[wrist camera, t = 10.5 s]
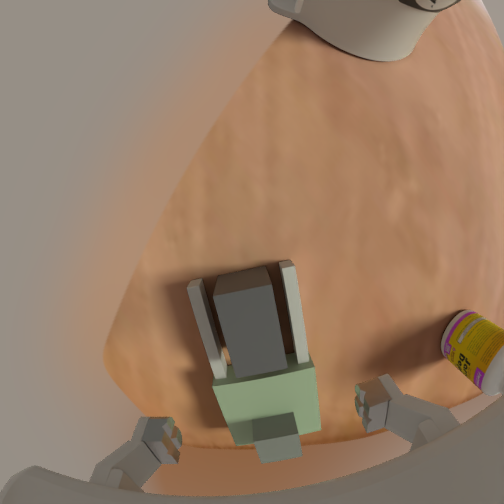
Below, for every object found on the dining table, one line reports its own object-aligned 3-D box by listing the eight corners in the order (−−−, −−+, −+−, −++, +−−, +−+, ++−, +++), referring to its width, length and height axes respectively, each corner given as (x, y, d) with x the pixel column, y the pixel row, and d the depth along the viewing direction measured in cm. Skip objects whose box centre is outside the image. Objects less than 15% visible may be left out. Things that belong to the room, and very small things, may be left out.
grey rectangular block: (279, 337, 25) (287, 368, 20) (236, 346, 25) (236, 378, 20) (265, 265, 23) (271, 284, 18) (218, 275, 23) (212, 296, 18)
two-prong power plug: (188, 280, 23) (171, 308, 17) (293, 259, 23) (310, 280, 17) (236, 426, 27) (236, 466, 21) (315, 411, 27) (327, 449, 21)
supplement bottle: (432, 336, 26) (501, 396, 13) (468, 297, 25) (543, 340, 12) (446, 365, 27) (502, 420, 14) (478, 329, 26) (540, 373, 14)
